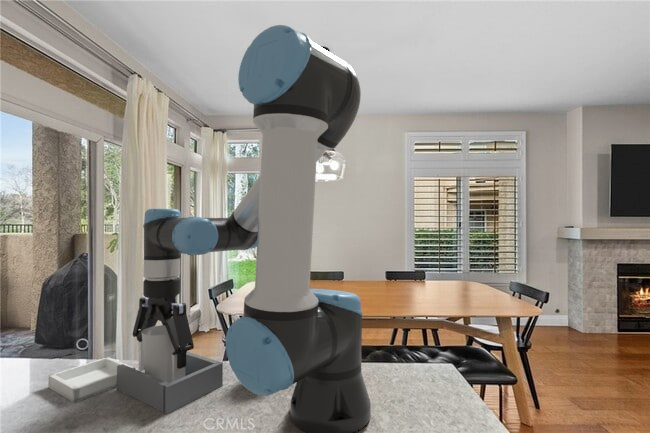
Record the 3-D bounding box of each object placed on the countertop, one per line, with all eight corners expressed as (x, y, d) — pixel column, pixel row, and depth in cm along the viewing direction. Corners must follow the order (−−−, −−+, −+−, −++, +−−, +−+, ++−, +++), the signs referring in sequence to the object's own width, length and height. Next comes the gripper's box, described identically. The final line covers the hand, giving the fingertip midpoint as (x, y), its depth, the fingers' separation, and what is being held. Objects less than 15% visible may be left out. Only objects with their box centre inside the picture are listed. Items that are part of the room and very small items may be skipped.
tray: (135, 379, 80) (135, 368, 80) (74, 403, 69) (74, 389, 69) (107, 367, 86) (107, 356, 86) (48, 387, 76) (48, 375, 76)
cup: (165, 394, 73) (166, 336, 73) (132, 390, 74) (132, 334, 75) (187, 377, 81) (188, 325, 81) (157, 374, 82) (157, 323, 82)
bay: (222, 385, 77) (222, 362, 77) (166, 414, 65) (167, 387, 65) (172, 367, 86) (173, 347, 86) (116, 389, 75) (116, 366, 75)
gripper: (212, 280, 75) (211, 382, 74) (147, 271, 87) (146, 358, 87) (181, 285, 68) (180, 397, 68) (116, 275, 81) (115, 368, 81)
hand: (161, 375), depth 78 cm, fingers open, 12 cm apart
